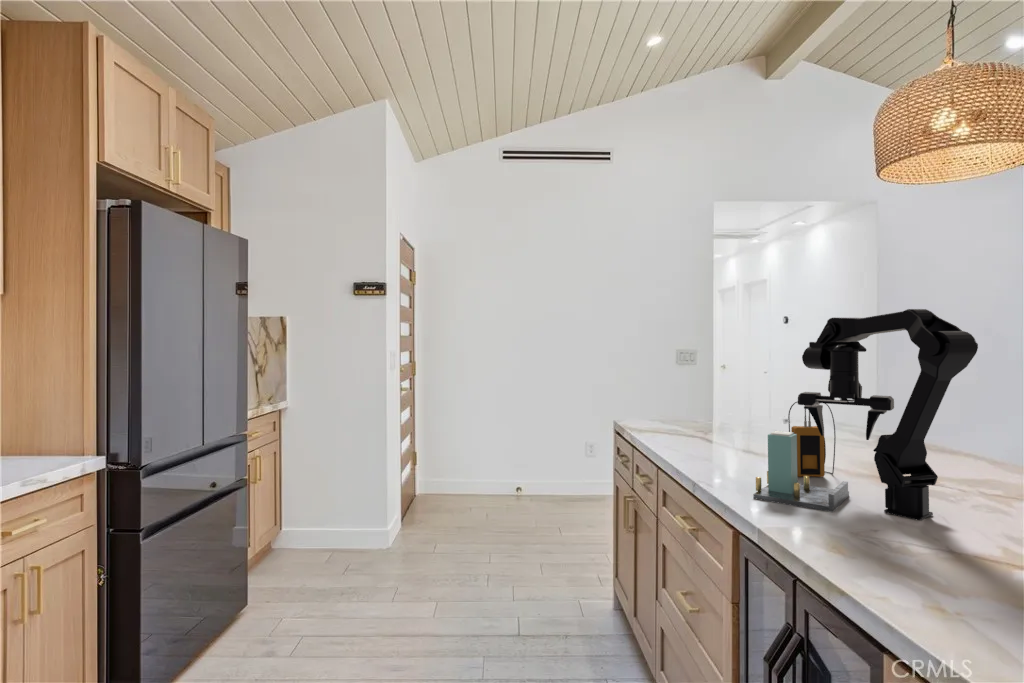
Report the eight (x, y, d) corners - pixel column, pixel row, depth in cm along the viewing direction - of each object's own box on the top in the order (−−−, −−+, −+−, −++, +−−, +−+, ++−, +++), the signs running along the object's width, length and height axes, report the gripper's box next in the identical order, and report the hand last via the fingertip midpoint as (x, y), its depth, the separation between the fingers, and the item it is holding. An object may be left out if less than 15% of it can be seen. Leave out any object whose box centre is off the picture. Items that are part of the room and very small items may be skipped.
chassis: (849, 495, 127) (848, 478, 127) (832, 512, 115) (832, 492, 115) (772, 484, 138) (772, 468, 138) (750, 497, 126) (750, 480, 126)
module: (797, 489, 129) (796, 432, 129) (791, 494, 125) (790, 435, 125) (774, 486, 132) (773, 430, 133) (768, 490, 129) (767, 433, 129)
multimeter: (822, 469, 154) (821, 397, 154) (839, 477, 144) (838, 401, 144) (767, 468, 155) (766, 397, 155) (781, 477, 145) (780, 401, 145)
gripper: (897, 370, 129) (897, 437, 129) (808, 368, 141) (809, 429, 141) (890, 373, 120) (890, 444, 120) (796, 370, 133) (797, 435, 133)
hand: (844, 437), depth 129 cm, fingers open, 9 cm apart
